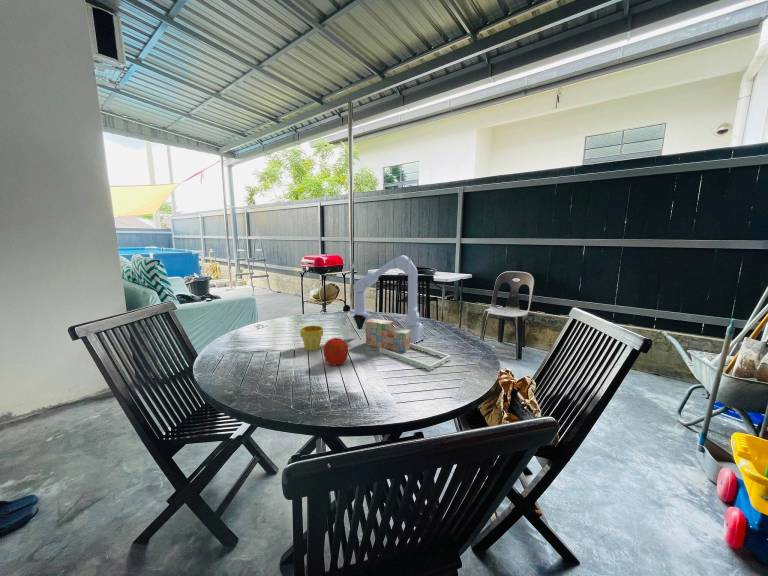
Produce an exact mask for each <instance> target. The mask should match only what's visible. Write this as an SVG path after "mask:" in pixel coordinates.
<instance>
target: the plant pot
mask: <svg viewBox="0 0 768 576" xmlns="http://www.w3.org/2000/svg"><path fill="white" fill-rule="evenodd" d="M299 331H300V333H299V334H300V337H301V338H302V342H303V345H304V349H305V350H306V351H308V350H309V352H310V351H312V350H313V351H317V350H319V349H320V345H321V340H322V336H323V335H324V328H323V326H321V325H314V324H312V325H305V326H303V327H301V328H300V329H299Z"/></svg>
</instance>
